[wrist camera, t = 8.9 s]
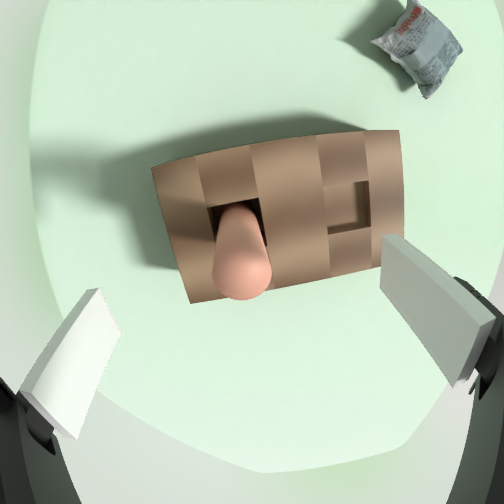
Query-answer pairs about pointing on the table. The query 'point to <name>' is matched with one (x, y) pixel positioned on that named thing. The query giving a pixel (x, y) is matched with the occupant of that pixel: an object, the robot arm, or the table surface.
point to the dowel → (240, 254)
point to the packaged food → (421, 47)
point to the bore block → (288, 204)
